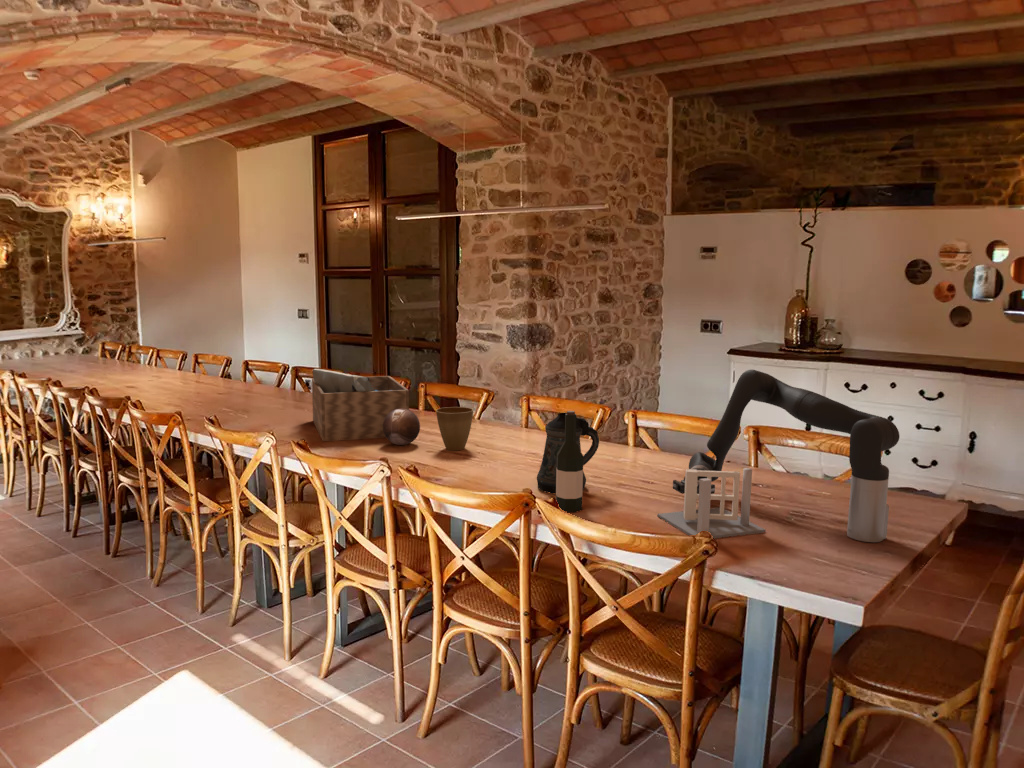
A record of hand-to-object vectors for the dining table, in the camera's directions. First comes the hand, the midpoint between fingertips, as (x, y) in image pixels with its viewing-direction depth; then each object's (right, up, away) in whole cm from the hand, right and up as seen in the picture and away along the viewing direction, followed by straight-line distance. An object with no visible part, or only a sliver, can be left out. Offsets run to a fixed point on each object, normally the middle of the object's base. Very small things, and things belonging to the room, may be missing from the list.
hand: (689, 494), depth 224 cm
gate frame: (+6, -9, 0) cm, 11 cm away
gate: (+6, -7, -1) cm, 9 cm away
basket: (-119, +12, +128) cm, 175 cm away
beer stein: (-33, -3, +37) cm, 50 cm away
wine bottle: (-34, -6, +14) cm, 37 cm away
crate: (-120, +12, +128) cm, 175 cm away
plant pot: (-74, +6, +90) cm, 116 cm away
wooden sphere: (-96, +7, +96) cm, 136 cm away
